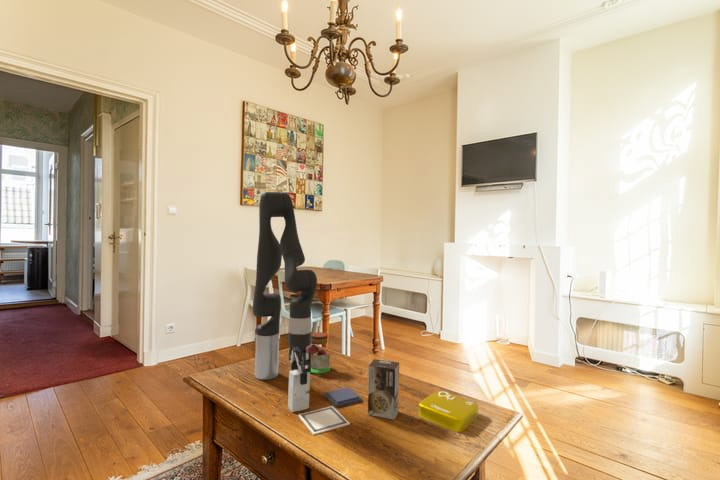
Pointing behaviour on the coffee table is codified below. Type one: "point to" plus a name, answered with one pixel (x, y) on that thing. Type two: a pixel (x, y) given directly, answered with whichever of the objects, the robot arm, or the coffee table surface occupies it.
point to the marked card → (323, 420)
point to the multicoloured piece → (319, 353)
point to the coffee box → (383, 389)
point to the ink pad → (342, 397)
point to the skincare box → (298, 391)
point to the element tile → (448, 410)
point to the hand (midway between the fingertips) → (298, 379)
